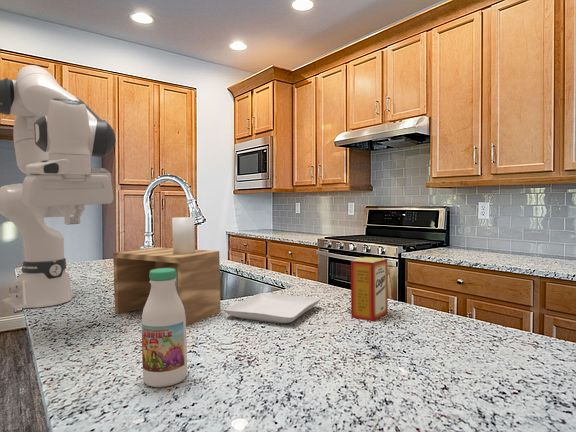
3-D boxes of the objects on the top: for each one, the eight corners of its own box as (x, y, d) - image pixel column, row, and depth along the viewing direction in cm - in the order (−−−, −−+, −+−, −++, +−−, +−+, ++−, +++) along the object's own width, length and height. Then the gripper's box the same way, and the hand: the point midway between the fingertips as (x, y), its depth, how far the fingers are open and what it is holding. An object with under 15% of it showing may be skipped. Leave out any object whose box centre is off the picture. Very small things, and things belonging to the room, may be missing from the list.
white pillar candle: (168, 253, 108) (167, 217, 108) (183, 251, 114) (182, 217, 113) (184, 254, 106) (183, 218, 105) (199, 252, 111) (198, 217, 110)
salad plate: (222, 320, 107) (222, 308, 107) (260, 302, 126) (260, 291, 126) (292, 330, 98) (292, 316, 98) (322, 308, 117) (321, 297, 117)
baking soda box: (366, 309, 114) (366, 255, 114) (387, 313, 111) (387, 257, 110) (351, 317, 107) (350, 259, 106) (373, 321, 103) (373, 261, 102)
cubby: (115, 313, 114) (113, 252, 113) (155, 302, 127) (153, 247, 126) (183, 327, 101) (181, 257, 100) (220, 312, 114) (219, 251, 113)
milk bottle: (149, 370, 75) (146, 266, 74) (190, 368, 75) (188, 265, 75) (137, 389, 67) (134, 274, 66) (183, 387, 68) (180, 272, 67)
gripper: (103, 168, 104) (105, 219, 106) (17, 165, 87) (20, 226, 89) (117, 168, 101) (119, 221, 102) (30, 165, 84) (33, 229, 85)
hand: (72, 224), depth 95 cm, fingers closed
